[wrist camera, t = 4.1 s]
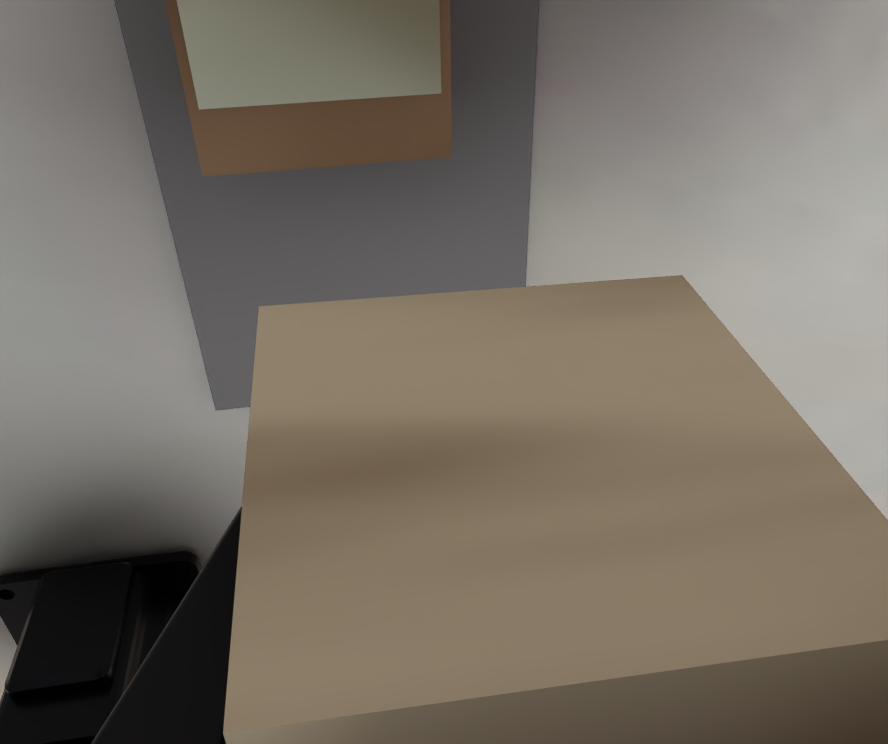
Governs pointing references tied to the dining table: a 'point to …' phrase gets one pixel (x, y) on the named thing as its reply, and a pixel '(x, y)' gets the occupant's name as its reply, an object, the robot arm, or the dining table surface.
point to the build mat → (346, 195)
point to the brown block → (314, 81)
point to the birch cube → (545, 531)
